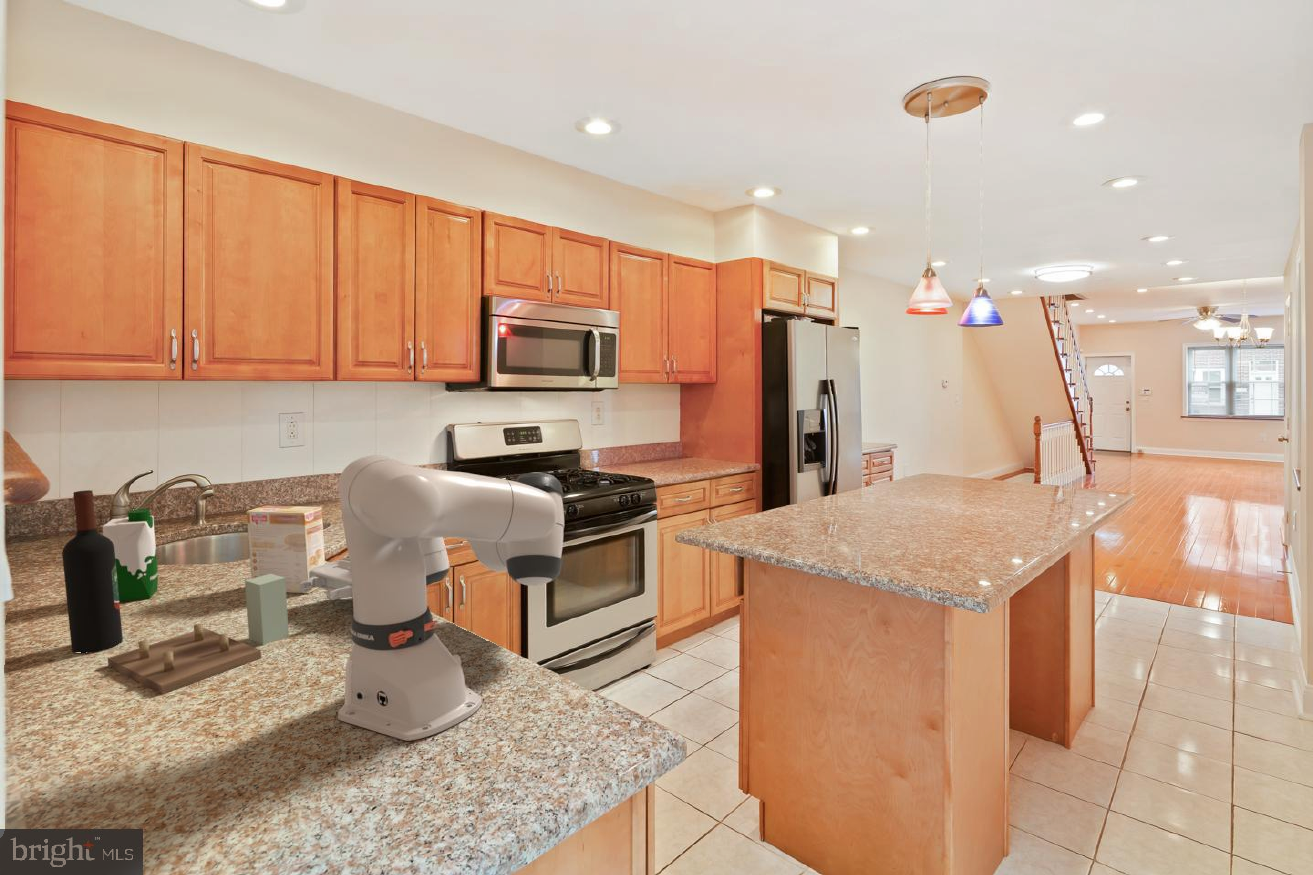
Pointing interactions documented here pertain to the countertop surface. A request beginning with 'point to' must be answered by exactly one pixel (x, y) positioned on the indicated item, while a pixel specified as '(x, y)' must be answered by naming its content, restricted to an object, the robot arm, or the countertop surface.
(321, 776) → the countertop surface
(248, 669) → the countertop surface
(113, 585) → the wine bottle
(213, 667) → the nest board
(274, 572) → the coffeecake box
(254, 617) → the block
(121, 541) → the milk carton
